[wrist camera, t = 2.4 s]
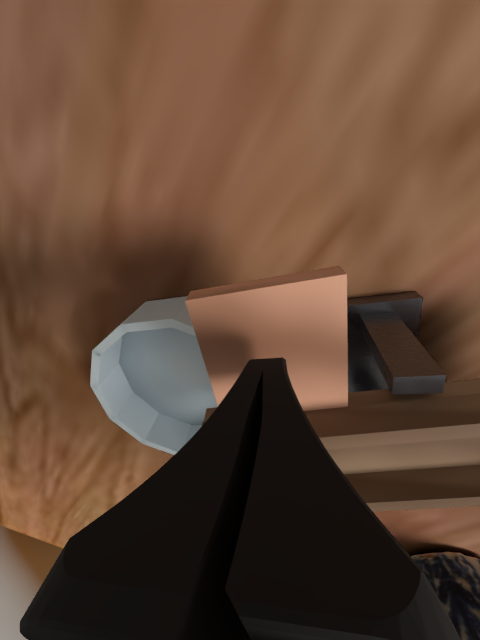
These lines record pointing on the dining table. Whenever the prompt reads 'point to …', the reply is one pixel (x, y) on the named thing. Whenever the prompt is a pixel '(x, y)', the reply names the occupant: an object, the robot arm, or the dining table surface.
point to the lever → (344, 390)
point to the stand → (389, 346)
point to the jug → (455, 588)
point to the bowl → (154, 376)
